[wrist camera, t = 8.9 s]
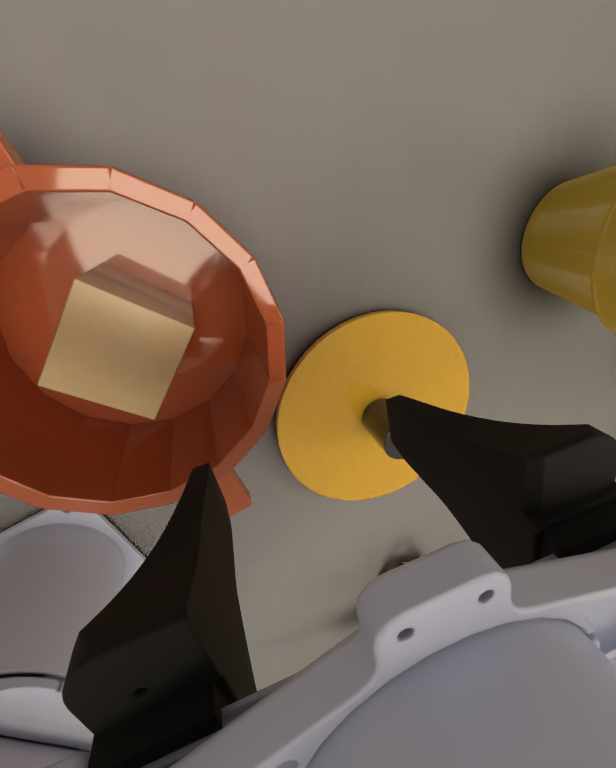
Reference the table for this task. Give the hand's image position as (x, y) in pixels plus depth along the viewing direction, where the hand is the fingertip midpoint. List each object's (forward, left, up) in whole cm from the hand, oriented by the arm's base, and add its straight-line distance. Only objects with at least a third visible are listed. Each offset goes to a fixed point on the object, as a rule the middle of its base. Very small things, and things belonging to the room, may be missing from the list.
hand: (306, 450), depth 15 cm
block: (-5, +6, -8) cm, 11 cm away
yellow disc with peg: (+5, -6, -8) cm, 12 cm away
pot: (-5, +6, -9) cm, 12 cm away
